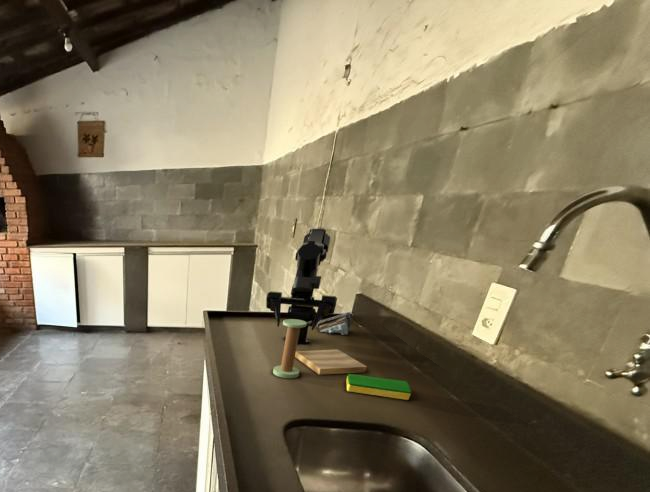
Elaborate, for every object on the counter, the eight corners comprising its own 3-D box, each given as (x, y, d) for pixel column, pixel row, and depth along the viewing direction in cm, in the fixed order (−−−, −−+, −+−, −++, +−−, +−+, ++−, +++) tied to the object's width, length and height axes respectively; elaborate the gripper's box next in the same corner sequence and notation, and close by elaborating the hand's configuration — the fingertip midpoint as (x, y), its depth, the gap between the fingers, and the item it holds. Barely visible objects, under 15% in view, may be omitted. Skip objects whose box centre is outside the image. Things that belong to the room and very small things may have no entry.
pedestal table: (269, 369, 124) (277, 319, 117) (291, 368, 124) (301, 318, 117) (279, 378, 117) (288, 326, 111) (303, 377, 118) (313, 324, 111)
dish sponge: (346, 381, 115) (348, 373, 114) (404, 389, 110) (407, 381, 109) (346, 391, 109) (348, 383, 108) (408, 400, 104) (411, 391, 103)
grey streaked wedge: (313, 333, 155) (343, 315, 147) (313, 323, 160) (343, 305, 151) (329, 350, 157) (360, 333, 149) (329, 339, 162) (359, 322, 153)
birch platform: (294, 356, 133) (295, 351, 132) (336, 354, 134) (337, 349, 133) (319, 374, 120) (320, 368, 119) (365, 372, 121) (367, 366, 120)
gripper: (272, 263, 121) (260, 309, 117) (344, 266, 113) (334, 316, 109) (271, 285, 130) (261, 329, 126) (337, 290, 123) (329, 336, 119)
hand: (294, 327), depth 120 cm, fingers open, 9 cm apart
